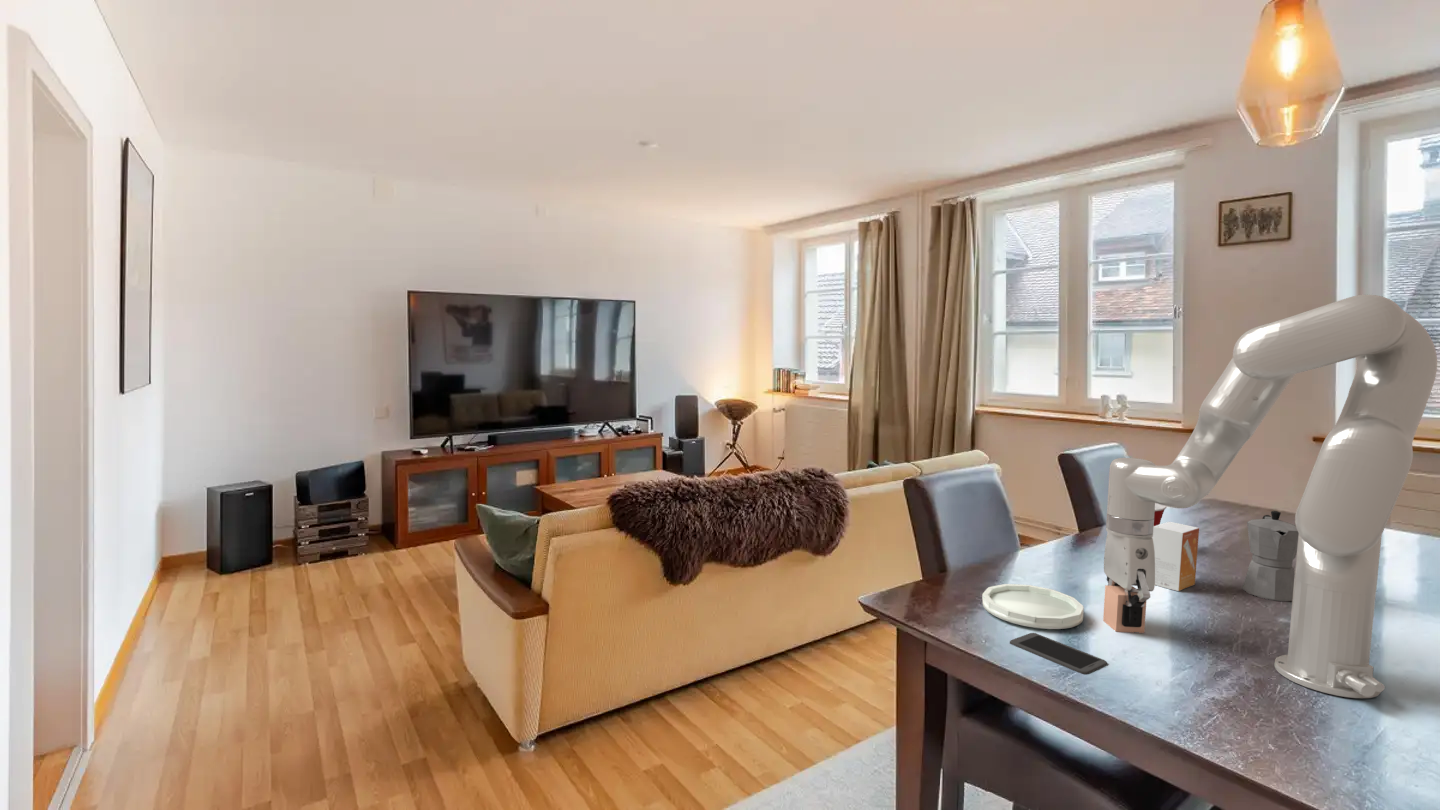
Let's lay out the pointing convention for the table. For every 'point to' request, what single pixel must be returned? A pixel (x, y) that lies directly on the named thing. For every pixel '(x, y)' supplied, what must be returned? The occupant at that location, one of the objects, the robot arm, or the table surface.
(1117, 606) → the block
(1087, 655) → the cell phone
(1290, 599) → the coffeepot
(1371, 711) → the table surface
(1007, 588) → the dish
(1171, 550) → the small box
